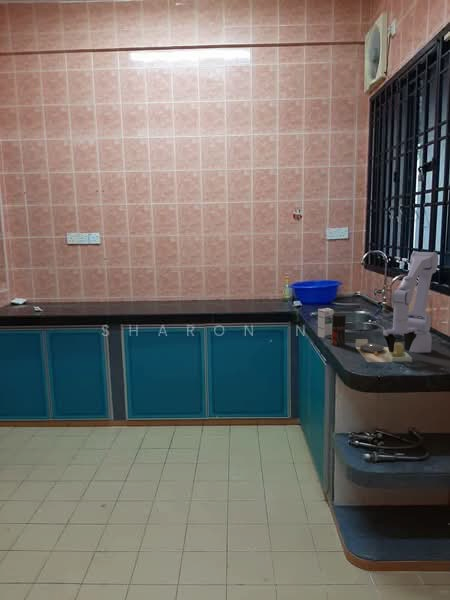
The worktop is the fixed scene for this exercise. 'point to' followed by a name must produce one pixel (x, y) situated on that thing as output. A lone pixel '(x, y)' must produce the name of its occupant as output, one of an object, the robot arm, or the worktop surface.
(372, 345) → the crank
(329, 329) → the syrup box
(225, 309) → the worktop surface
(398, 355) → the block
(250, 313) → the worktop surface
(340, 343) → the deodorant
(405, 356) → the tray
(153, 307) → the worktop surface
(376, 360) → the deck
